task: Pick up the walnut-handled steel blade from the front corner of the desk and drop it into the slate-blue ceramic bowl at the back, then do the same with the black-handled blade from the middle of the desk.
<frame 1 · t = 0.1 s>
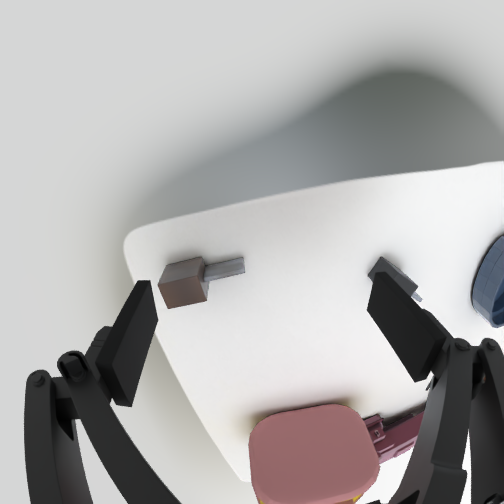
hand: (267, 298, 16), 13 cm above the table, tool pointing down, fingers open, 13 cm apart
bowl: (497, 273, 33), on the table
blade walnut: (187, 272, 29), on the table
alarm clock: (301, 420, 42), on the table
blade black: (384, 272, 31), on the table
electronic device: (390, 419, 46), on the table, touching cactus
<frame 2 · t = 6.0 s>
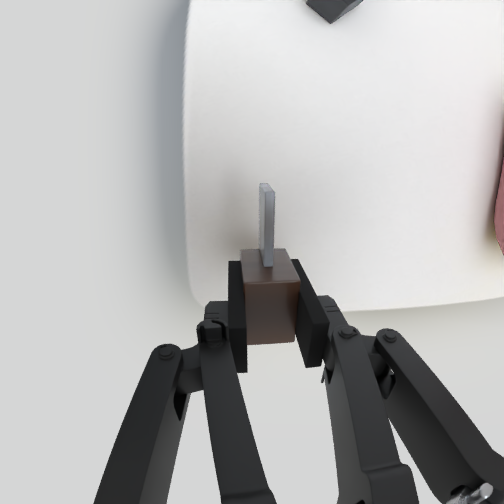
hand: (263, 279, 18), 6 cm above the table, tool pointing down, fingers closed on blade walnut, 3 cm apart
blade walnut: (262, 277, 18), point 5 cm above the table, touching gripper
blade black: (332, 3, 15), on the table
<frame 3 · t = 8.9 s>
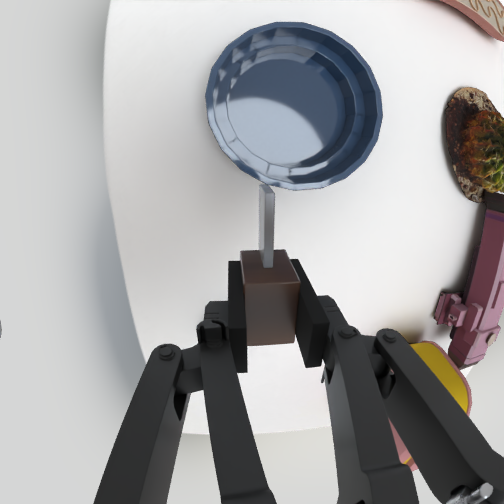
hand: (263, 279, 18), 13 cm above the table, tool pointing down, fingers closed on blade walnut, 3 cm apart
bowl: (287, 107, 25), on the table
blade walnut: (262, 278, 18), point 12 cm above the table, touching gripper
alarm clock: (383, 369, 41), on the table
cactus: (476, 145, 27), on the table, touching electronic device
electronic device: (467, 268, 35), on the table, touching cactus
when the fingers open (2 cm above the table, at t = 12.3 s): blade walnut stays where it is, resting on bowl.
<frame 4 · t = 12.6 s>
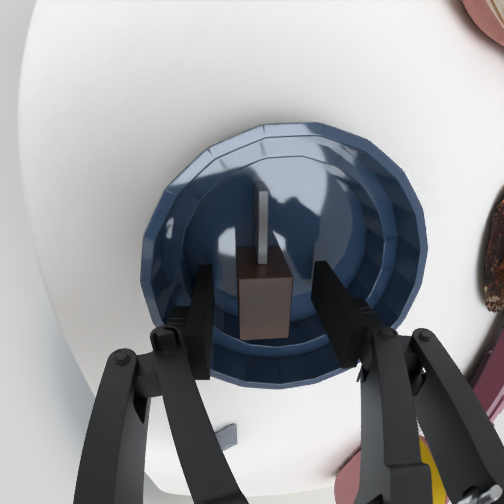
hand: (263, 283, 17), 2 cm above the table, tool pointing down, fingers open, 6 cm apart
bowl: (280, 245, 18), on the table
blade walnut: (257, 274, 18), point 1 cm above the table, touching bowl
alarm clock: (371, 453, 35), on the table
blade black: (202, 441, 28), on the table
electronic device: (473, 367, 28), on the table, touching cactus
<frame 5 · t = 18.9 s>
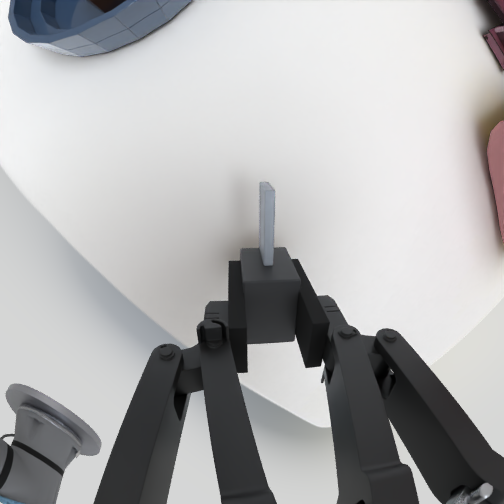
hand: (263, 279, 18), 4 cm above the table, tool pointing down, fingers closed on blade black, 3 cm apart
blade black: (262, 276, 18), point 4 cm above the table, touching gripper
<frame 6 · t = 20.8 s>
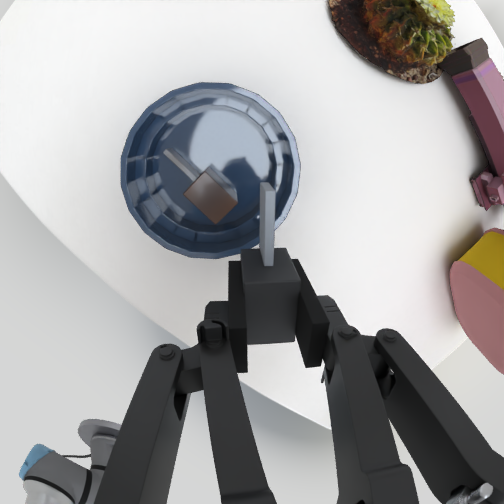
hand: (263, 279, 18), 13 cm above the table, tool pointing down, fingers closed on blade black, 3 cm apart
bowl: (211, 166, 27), on the table
blade walnut: (213, 189, 27), point 1 cm above the table, touching bowl
alarm clock: (469, 275, 36), on the table
blade black: (262, 276, 18), point 13 cm above the table, touching gripper
cactus: (392, 26, 21), on the table, touching electronic device
electronic device: (478, 138, 27), on the table, touching cactus
when the fingers open (5 cm above the table, at t = 22.7 s): blade black drops 1 cm and tips over, resting on blade walnut, bowl.
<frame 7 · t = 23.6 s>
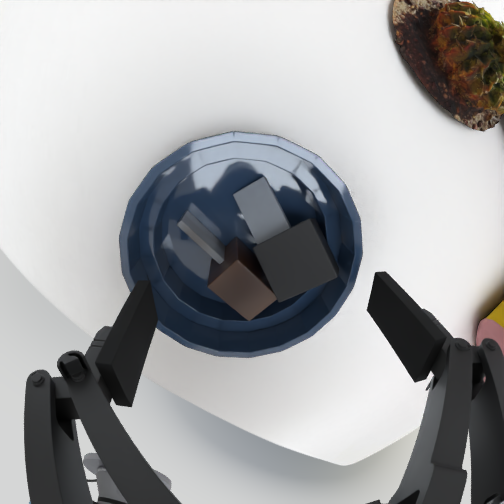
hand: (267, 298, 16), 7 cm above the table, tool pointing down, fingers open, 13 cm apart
bowl: (239, 234, 22), on the table
blade walnut: (241, 264, 22), point 1 cm above the table, touching blade black, bowl
alarm clock: (493, 324, 30), on the table
blade black: (271, 271, 19), point 3 cm above the table, tilted 77°, touching blade walnut, bowl
cactus: (456, 55, 16), on the table, touching electronic device
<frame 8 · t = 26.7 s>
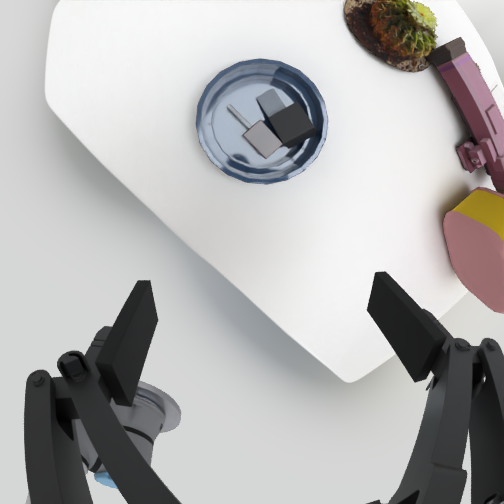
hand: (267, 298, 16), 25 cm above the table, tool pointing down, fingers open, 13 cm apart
bowl: (259, 122, 34), on the table
blade walnut: (260, 139, 34), point 1 cm above the table, touching blade black, bowl
alarm clock: (461, 231, 43), on the table
blade black: (278, 133, 32), point 3 cm above the table, tilted 77°, touching blade walnut, bowl
cactus: (391, 29, 28), on the table, touching electronic device
electronic device: (461, 116, 34), on the table, touching cactus
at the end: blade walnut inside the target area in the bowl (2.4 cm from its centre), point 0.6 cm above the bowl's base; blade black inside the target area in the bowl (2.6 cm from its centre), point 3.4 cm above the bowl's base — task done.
